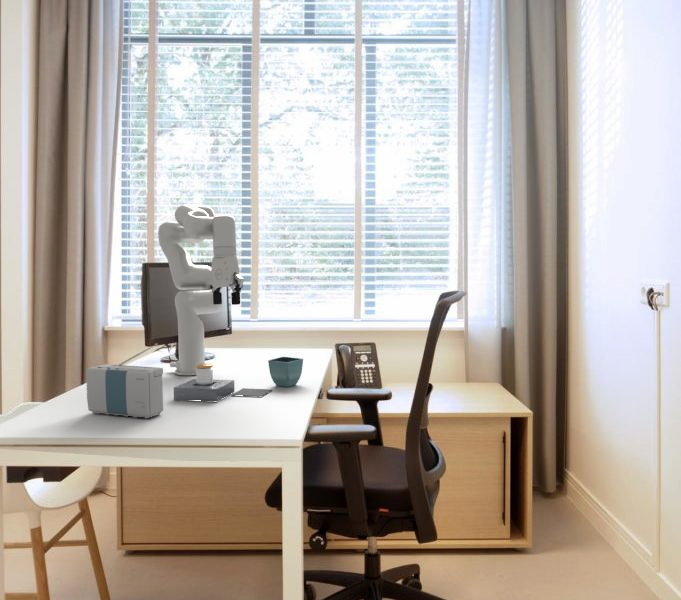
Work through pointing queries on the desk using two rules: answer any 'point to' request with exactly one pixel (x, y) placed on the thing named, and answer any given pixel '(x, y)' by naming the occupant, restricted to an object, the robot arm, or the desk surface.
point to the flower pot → (285, 370)
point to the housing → (204, 390)
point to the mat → (252, 392)
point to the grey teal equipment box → (125, 389)
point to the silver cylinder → (204, 374)
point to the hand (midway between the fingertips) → (226, 304)
